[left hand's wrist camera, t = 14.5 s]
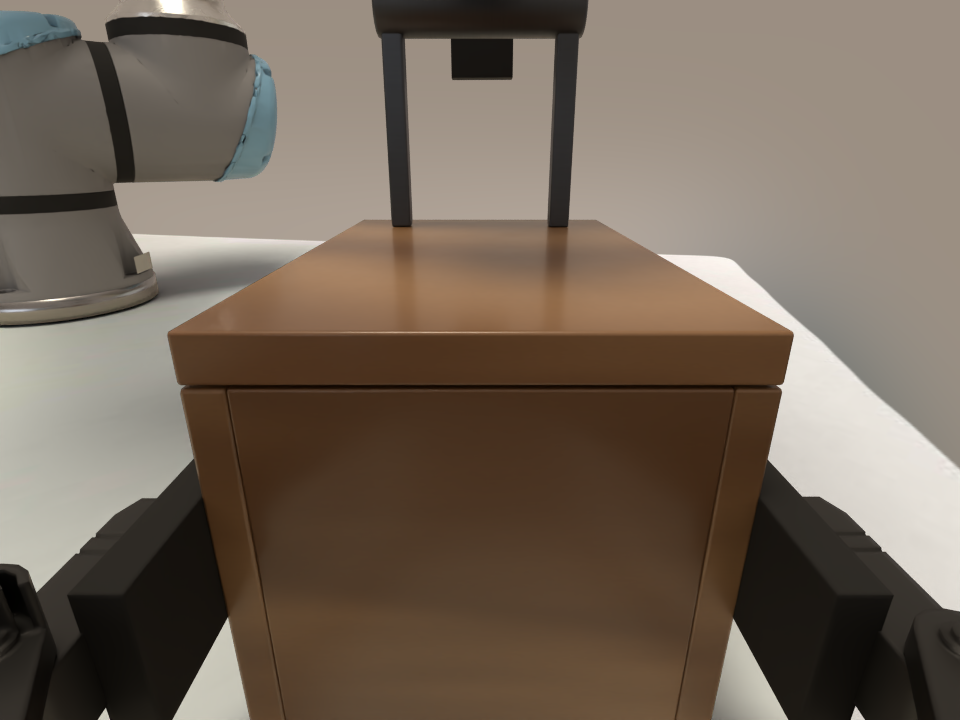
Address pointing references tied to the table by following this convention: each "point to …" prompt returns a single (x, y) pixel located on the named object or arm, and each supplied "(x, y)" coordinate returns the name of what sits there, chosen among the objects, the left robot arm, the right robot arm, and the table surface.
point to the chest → (480, 544)
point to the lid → (480, 273)
